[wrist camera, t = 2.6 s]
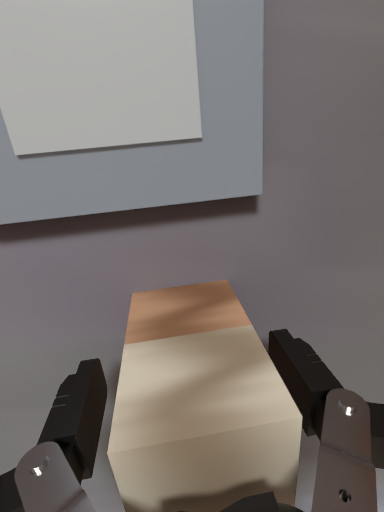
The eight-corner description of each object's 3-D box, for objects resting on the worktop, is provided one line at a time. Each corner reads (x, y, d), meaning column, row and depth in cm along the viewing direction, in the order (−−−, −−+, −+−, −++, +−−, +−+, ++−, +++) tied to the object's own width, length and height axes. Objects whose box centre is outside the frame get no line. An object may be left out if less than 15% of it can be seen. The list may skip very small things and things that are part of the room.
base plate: (252, -207, 8) (267, -259, 7) (254, 191, 13) (263, 194, 12) (-180, -212, 7) (-237, -273, 6) (-13, 221, 12) (-30, 228, 11)
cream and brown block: (227, 279, 14) (302, 417, 7) (230, 353, 16) (293, 523, 9) (132, 293, 14) (106, 453, 7) (147, 367, 16) (140, 557, 9)
